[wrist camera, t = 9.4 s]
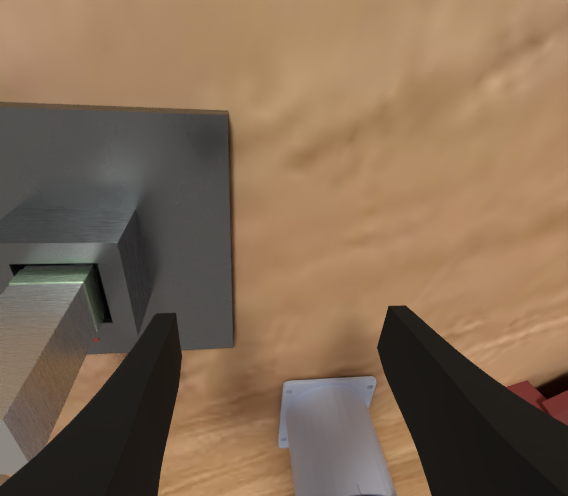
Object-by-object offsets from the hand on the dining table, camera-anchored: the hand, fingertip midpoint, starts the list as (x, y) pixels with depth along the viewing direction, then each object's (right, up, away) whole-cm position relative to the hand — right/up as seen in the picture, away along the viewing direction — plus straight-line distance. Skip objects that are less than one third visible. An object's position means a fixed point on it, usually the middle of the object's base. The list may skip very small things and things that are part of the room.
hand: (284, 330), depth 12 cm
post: (-11, +1, +6) cm, 12 cm away
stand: (-11, +3, +9) cm, 15 cm away
